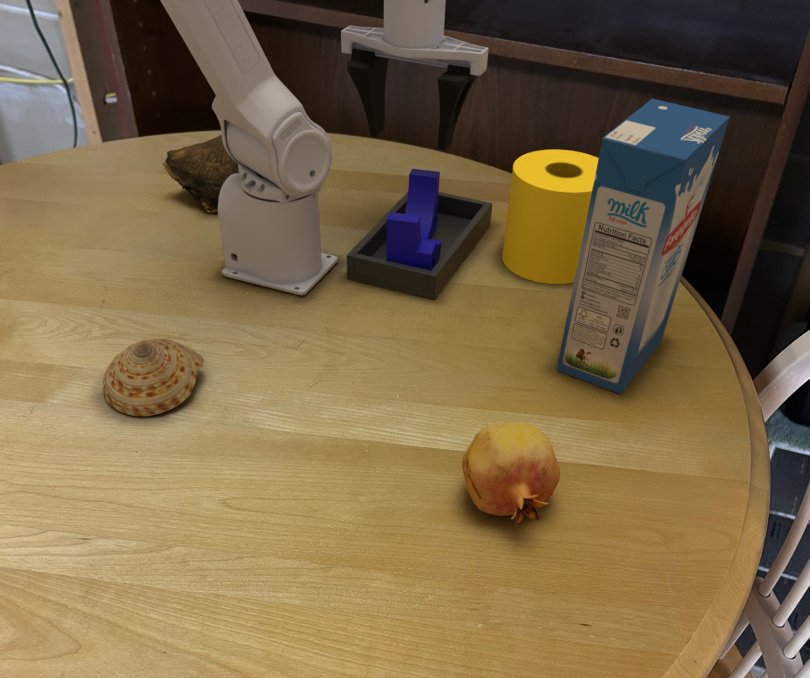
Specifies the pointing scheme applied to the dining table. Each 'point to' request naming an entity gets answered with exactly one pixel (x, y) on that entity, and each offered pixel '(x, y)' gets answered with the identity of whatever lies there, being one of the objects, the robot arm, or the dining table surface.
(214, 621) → the dining table surface
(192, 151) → the seashell
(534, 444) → the fruit
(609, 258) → the milk carton
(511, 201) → the yellow toilet paper roll
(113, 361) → the seashell
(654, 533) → the dining table surface
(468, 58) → the robot arm
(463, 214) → the holder
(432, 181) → the blue piece
